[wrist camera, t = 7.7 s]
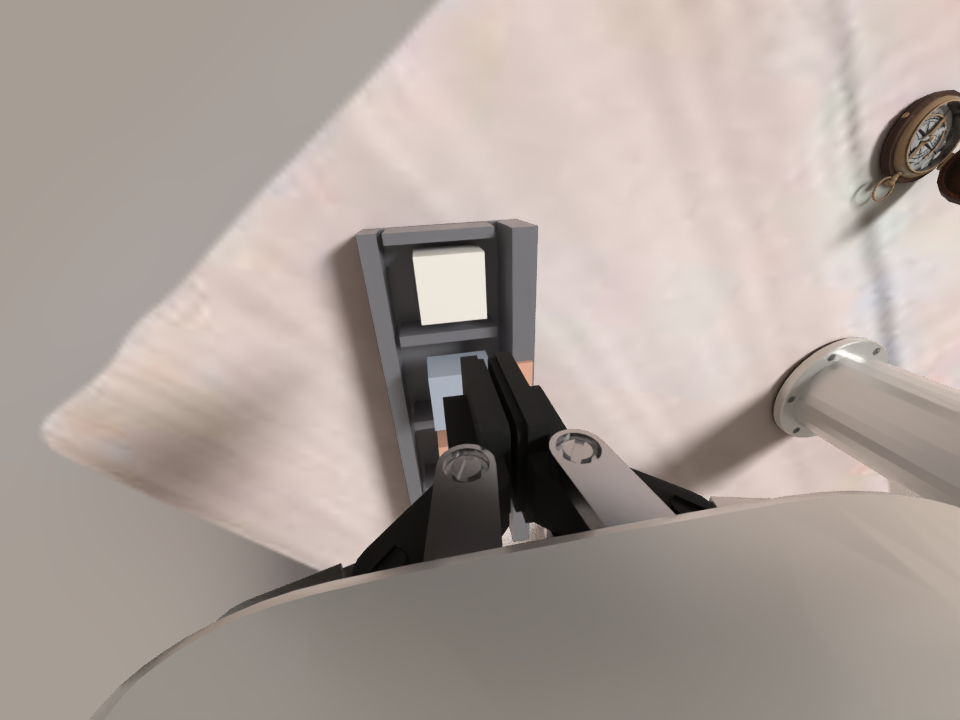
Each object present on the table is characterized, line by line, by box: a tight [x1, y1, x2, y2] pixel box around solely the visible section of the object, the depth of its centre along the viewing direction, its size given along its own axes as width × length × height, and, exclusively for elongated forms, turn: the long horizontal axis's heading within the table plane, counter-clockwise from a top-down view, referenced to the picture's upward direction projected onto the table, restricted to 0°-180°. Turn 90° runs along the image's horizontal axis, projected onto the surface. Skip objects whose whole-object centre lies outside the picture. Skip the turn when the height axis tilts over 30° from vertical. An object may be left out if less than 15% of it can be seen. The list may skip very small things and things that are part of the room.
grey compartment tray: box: [355, 219, 538, 542], centre depth 29 cm, size 11×30×5 cm, turn 3°
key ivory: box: [413, 244, 487, 325], centre depth 23 cm, size 4×4×3 cm
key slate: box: [427, 350, 488, 431], centre depth 25 cm, size 4×4×3 cm
